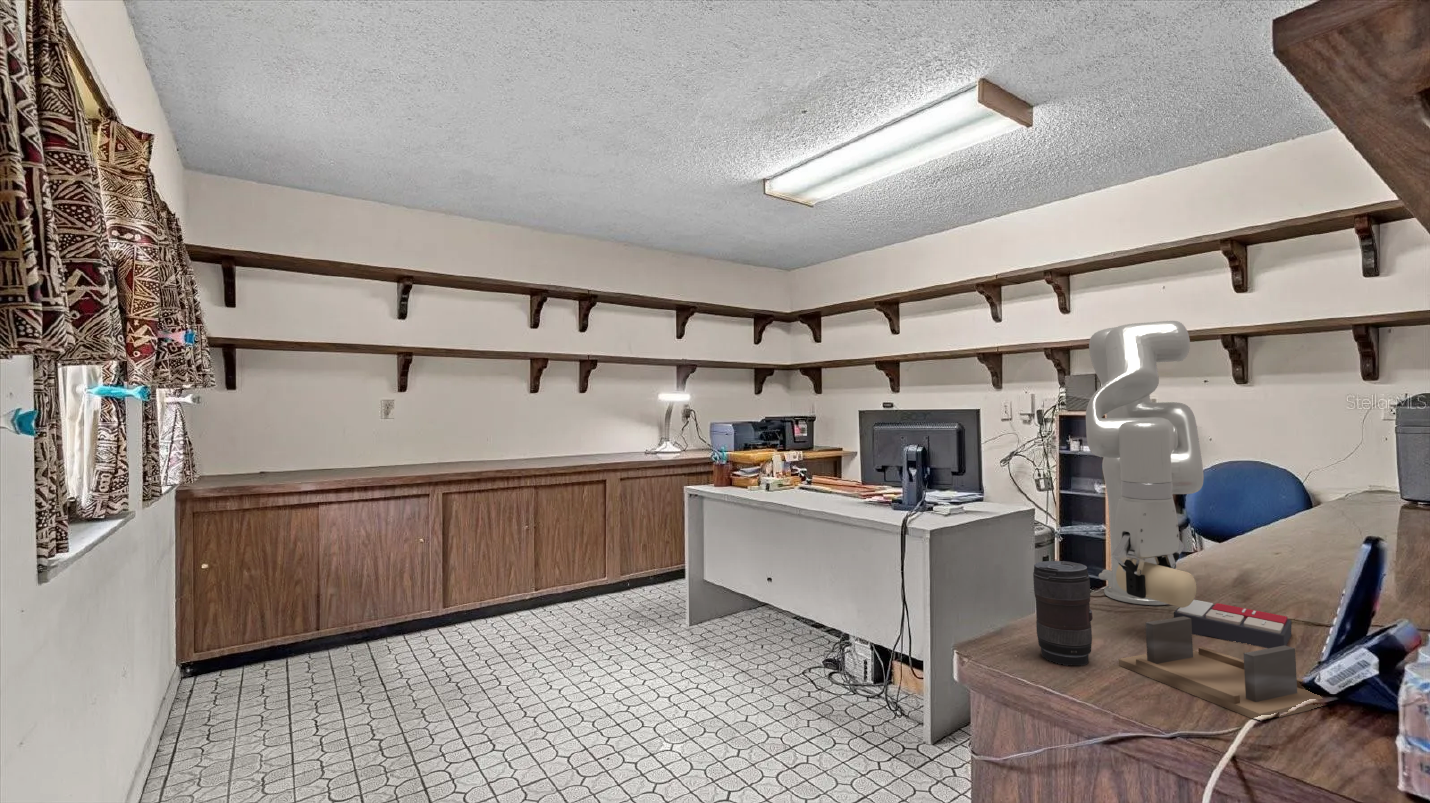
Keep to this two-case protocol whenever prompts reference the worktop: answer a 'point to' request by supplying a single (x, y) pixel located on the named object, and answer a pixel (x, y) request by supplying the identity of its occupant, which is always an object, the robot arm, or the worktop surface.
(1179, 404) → the robot arm
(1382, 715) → the worktop surface
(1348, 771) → the worktop surface
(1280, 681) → the roll holder
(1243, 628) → the calculator
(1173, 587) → the beige cylinder
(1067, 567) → the camera lens
